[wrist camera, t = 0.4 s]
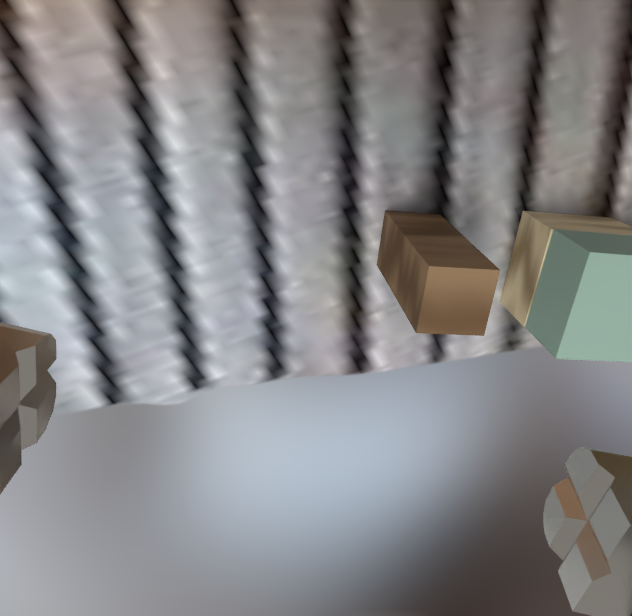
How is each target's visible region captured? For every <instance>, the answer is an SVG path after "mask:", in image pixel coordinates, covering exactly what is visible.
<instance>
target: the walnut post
mask: <svg viewBox="0 0 632 616" xmlns="http://www.w3.org/2000/svg"><path fill="white" fill-rule="evenodd" d="M377 266H378V268H379V269H380V271H381V273H382V275H383V276H384V278H385V280H386V281H387V283H388V285H389V287H390V288H391V290H392V292H393V294H394V295H395V297H396V299H397V301H398V302H399V304H400V306H401V307H402V309H403V311H404V313H405V314H406V316H407V318H408V320H409V321H410V323H411V325H412V327H413V328H414V330H415V332H416V333H429V334H455V335H481V336H484V333H485V329H486V325H487V321H488V317H489V313H490V309H491V305H492V301H493V297H494V293H495V289H496V285H497V281H498V277H499V273H500V270H499V269H498V268H497V267H496V266H495V265H494V264H493V263H492V262H491V261H490V260H489V259H488V258H486V257H485V256H484V255H483V254H482V253H481V252H480V251H479V250H478V249H477V248H476V247H475V246H474V245H473V244H471V243H470V242H469V241H468V240H467V239H466V238H465V237H464V236H463V235H462V234H461V233H460V232H459V231H457V230H456V229H455V228H454V227H453V226H452V225H451V224H450V223H449V222H448V221H447V220H446V219H445V218H444V217H442V216H441V215H439V214H425V213H410V212H396V211H385V215H384V221H383V228H382V234H381V241H380V247H379V254H378V260H377Z"/></svg>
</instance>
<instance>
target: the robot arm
mask: <svg viewBox="0 0 632 616" xmlns="http://www.w3.org/2000/svg"><path fill="white" fill-rule="evenodd" d="M55 360H56V340H55V338H54V337H53V336H52V335H51V334H49V333H45V332H40V331H36V330H32V329H28V328H23V327H19V326H15V325H10V324H6V323H2V322H0V494H1V493H2V491H3V490H4V488H5V487H6V485H7V484H8V483H9V481H10V480H11V478H12V477H13V476H14V474H15V473H16V471H17V470H18V469H19V467H20V466H21V450H22V449H25V448H27V447H29V446H31V445H33V444H35V443H37V442H38V440H39V438H40V437H41V435H42V434H43V433H44V431H45V430H46V427H47V425H48V422H49V420H50V417H51V415H52V412H53V408H54V403H55V398H56V382H55V381H54V379H53V378H52V376H51V375H50V374H49V372H48V371H47V370H48V369H49V367H50V366H51V365H52V364H53V362H54V361H55ZM565 467H566V471H567V474H568V478H567V479H565V480H563V481H561V482H560V483H558V484H556V485H554V486H553V488H552V490H551V492H550V494H549V495H548V497H547V500H546V501H545V508H544V515H543V524H544V532H545V535H546V539H547V541H548V544H549V546H550V548H551V549H552V550H553V551H554V552H555V553H556V554H557V555H558V556H559V557H560V558H561V559H562V560H563V562H562V564H561V566H560V568H559V570H558V573H559V575H560V578H561V581H562V584H563V586H564V589H565V592H566V595H567V597H568V600H569V603H570V606H571V608H572V611H574V612H579V613H583V614H587V615H592V616H632V457H629V456H624V455H619V454H614V453H609V452H604V451H599V450H594V449H589V448H584V447H579V448H578V449H577V450H575V451H574V452H573V453H572V454H571V456H570V457H569V459H568V461H567V463H566V464H565Z"/></svg>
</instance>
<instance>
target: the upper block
mask: <svg viewBox="0 0 632 616" xmlns="http://www.w3.org/2000/svg"><path fill="white" fill-rule="evenodd" d="M525 327H526V328H527V330H528V331H529V332H530V333H531V334H532V335H533V336H534V337H535V338H536V339H537V340H538V341H539V342H540V343H541V344H542V345H543V346H544V347H545V348H546V349H547V350H548V351H549V352H550V353H551V354H552V355H553V357H555V359H573V360H595V361H617V362H632V235H620V234H608V233H595V232H583V231H571V230H559V229H553V232H552V236H551V239H550V243H549V246H548V249H547V253H546V256H545V260H544V263H543V267H542V270H541V273H540V277H539V280H538V284H537V287H536V291H535V294H534V297H533V301H532V304H531V308H530V311H529V315H528V318H527V322H526V325H525Z"/></svg>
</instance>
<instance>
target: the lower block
mask: <svg viewBox="0 0 632 616" xmlns="http://www.w3.org/2000/svg"><path fill="white" fill-rule="evenodd" d="M553 229H559V230H571V231H583V232H595V233H608V234H620V235H632V227H631V226H629V225H627V224H625V223H623V222H621V221H619V220H617V219H615V218H610V217H597V216H584V215H571V214H558V213H545V212H532V211H523V213H522V217H521V220H520V224H519V228H518V232H517V236H516V240H515V244H514V248H513V251H512V255H511V259H510V263H509V267H508V271H507V275H506V279H505V283H504V286H503V290H502V294H501V298H500V302H501V303H502V304H503V305H504V307H505V308H506V309H507V310H508V311H509V312H510V313H511V314H512V315H513V316H514V317H515V318H516V319H517V320H518V321H519V322H520V323H521V324H522V326H523V327H525V325H526V322H527V318H528V315H529V311H530V308H531V304H532V301H533V297H534V294H535V291H536V287H537V284H538V280H539V277H540V273H541V270H542V267H543V263H544V260H545V256H546V253H547V249H548V246H549V243H550V239H551V236H552V232H553Z"/></svg>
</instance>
